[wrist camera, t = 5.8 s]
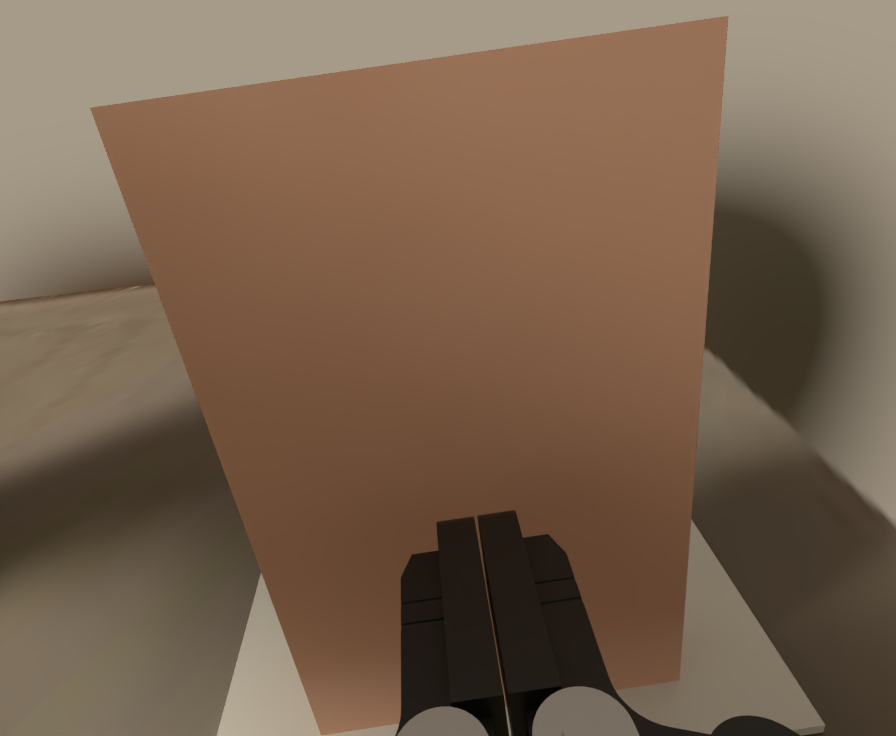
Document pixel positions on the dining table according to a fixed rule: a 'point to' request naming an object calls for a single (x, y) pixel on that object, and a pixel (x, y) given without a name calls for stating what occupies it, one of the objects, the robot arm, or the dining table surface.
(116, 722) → the dining table surface
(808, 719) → the mat
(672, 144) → the tile
